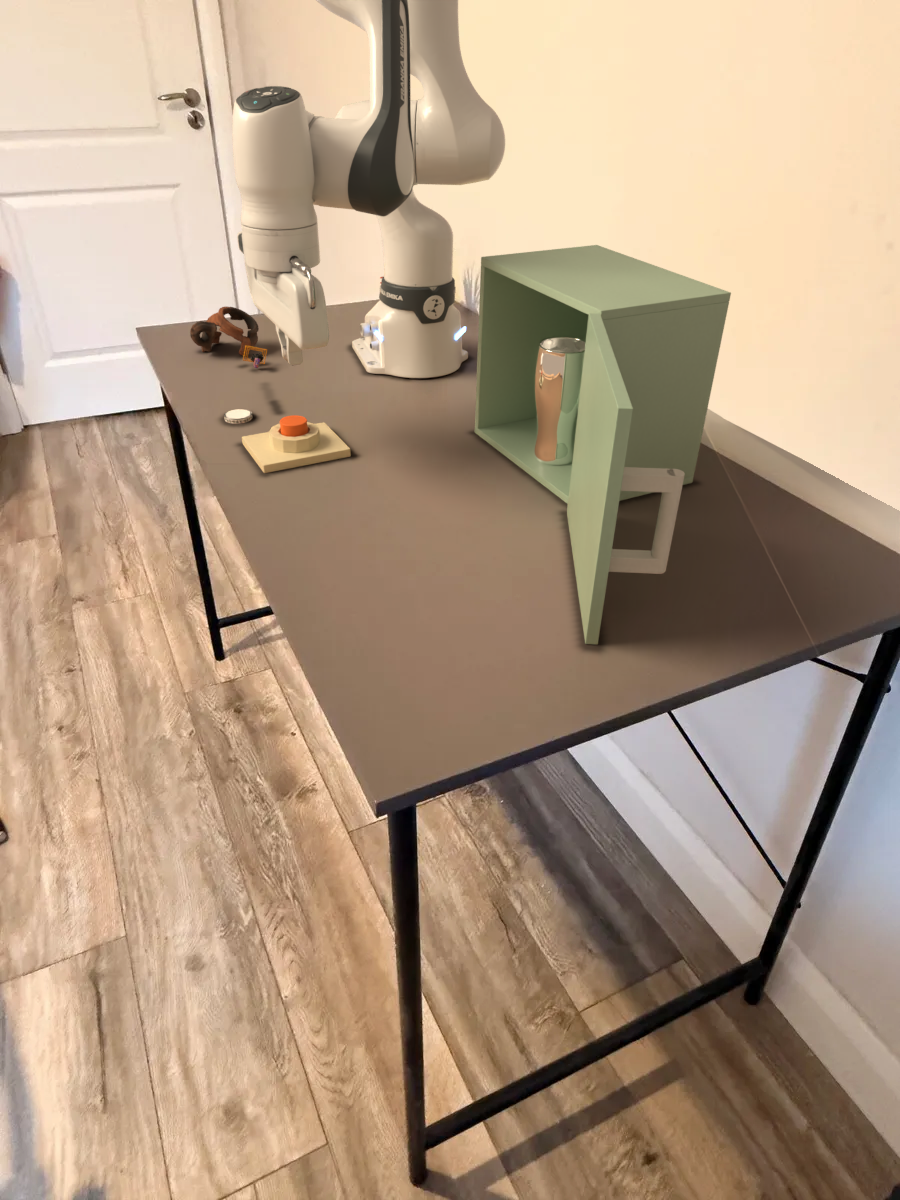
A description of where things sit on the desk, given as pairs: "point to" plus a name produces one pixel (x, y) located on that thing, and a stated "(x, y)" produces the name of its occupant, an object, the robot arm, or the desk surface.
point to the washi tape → (238, 416)
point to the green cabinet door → (609, 483)
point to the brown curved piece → (225, 329)
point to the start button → (293, 426)
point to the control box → (295, 447)
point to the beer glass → (557, 398)
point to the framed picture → (255, 356)
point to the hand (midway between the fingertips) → (292, 361)
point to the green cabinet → (637, 336)
